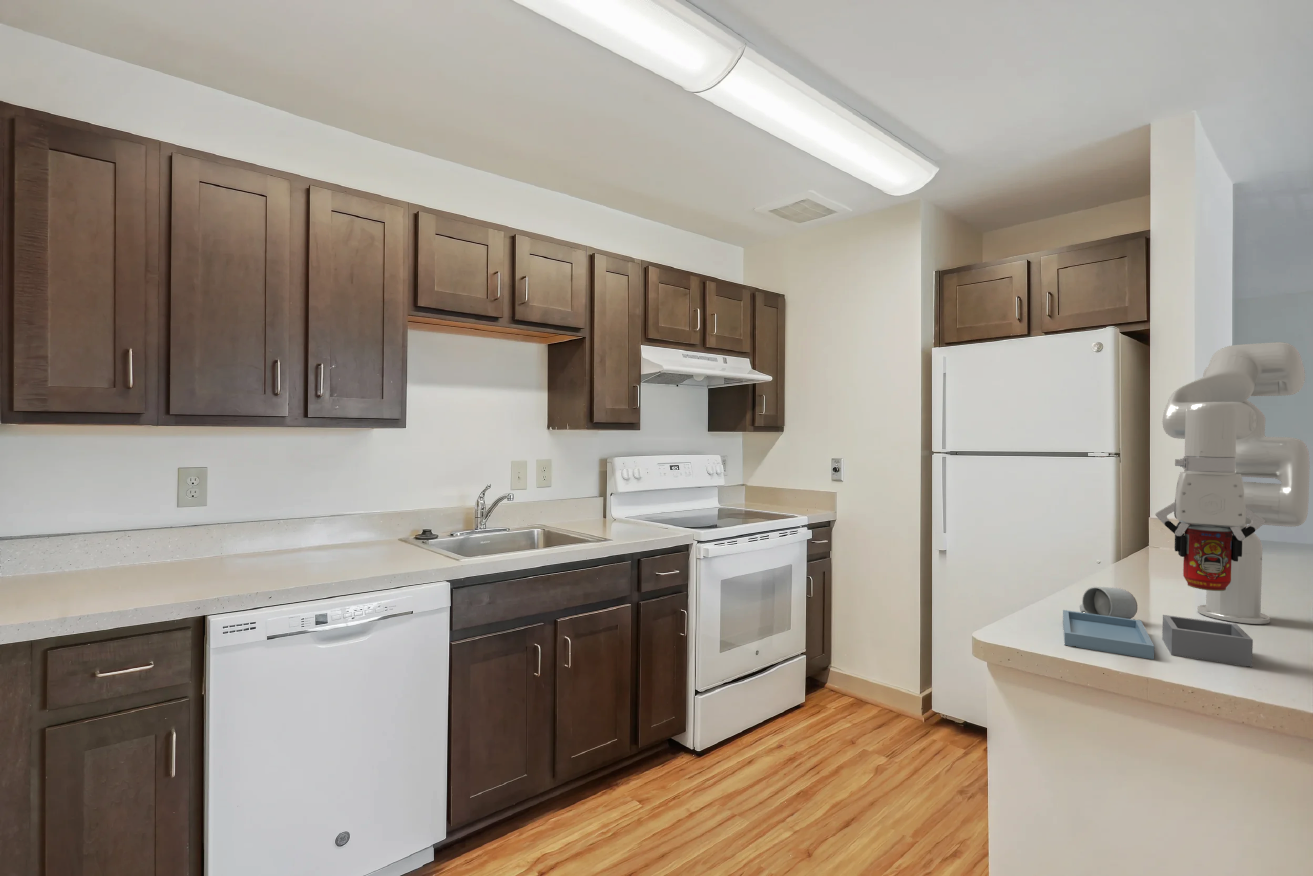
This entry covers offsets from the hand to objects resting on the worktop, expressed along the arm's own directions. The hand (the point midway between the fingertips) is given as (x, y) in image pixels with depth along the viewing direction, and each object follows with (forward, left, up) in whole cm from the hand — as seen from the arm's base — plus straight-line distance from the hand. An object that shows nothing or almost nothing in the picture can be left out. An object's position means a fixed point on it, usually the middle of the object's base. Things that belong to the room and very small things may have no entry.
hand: (1207, 557), depth 125 cm
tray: (+1, -16, -18) cm, 24 cm away
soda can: (0, 0, -6) cm, 6 cm away
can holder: (0, 0, -18) cm, 18 cm away
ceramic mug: (-17, -15, -19) cm, 29 cm away
